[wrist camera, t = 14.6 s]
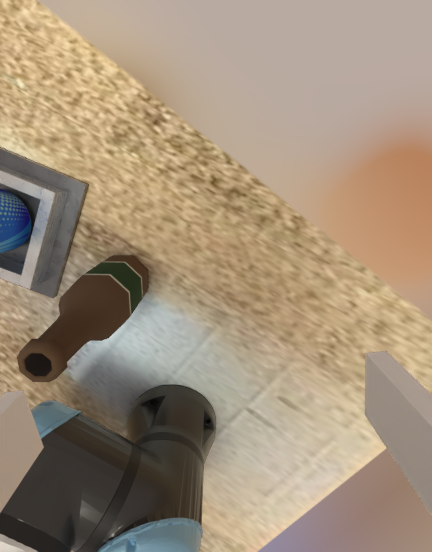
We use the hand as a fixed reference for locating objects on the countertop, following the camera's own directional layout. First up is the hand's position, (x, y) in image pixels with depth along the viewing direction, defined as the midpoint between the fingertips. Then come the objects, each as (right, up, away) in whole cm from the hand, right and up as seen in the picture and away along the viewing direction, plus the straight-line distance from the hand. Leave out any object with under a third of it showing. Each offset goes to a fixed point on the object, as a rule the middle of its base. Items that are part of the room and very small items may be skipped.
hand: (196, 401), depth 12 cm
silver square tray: (-29, +13, +32) cm, 45 cm away
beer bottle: (-13, +5, +35) cm, 38 cm away
